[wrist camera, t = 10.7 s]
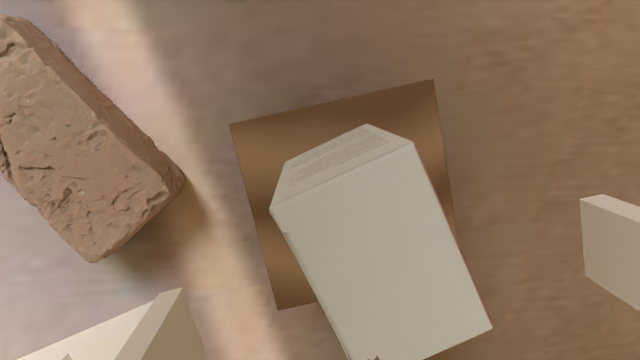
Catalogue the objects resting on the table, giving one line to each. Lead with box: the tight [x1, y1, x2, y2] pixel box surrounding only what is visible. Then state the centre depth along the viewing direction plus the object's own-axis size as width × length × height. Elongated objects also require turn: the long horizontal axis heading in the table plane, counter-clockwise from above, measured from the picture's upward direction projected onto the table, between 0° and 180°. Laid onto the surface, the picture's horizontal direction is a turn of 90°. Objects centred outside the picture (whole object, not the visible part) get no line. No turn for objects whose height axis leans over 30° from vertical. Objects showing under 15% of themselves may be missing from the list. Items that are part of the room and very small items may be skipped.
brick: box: [0, 15, 186, 263], centre depth 29 cm, size 17×8×5 cm, turn 42°
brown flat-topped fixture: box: [229, 79, 458, 310], centre depth 29 cm, size 12×12×8 cm
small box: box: [269, 124, 493, 360], centre depth 20 cm, size 8×6×10 cm
